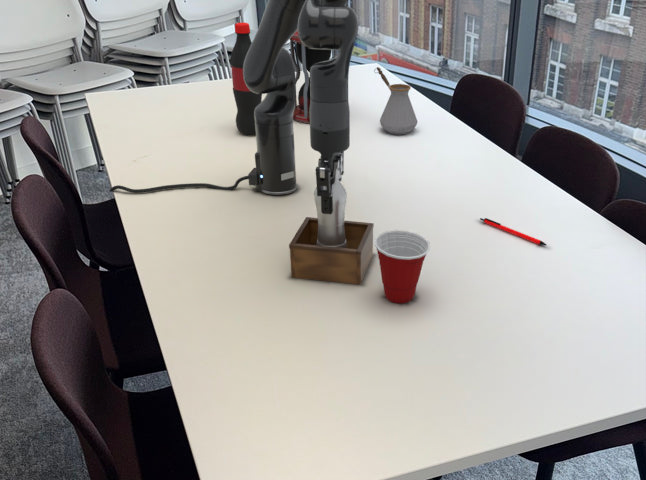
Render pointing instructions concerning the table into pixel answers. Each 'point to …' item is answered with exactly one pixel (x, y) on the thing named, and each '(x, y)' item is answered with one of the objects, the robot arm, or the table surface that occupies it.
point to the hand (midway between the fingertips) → (331, 206)
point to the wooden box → (332, 253)
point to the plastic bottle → (332, 218)
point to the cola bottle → (243, 82)
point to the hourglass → (307, 60)
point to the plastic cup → (400, 263)
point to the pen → (512, 231)
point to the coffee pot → (398, 109)
